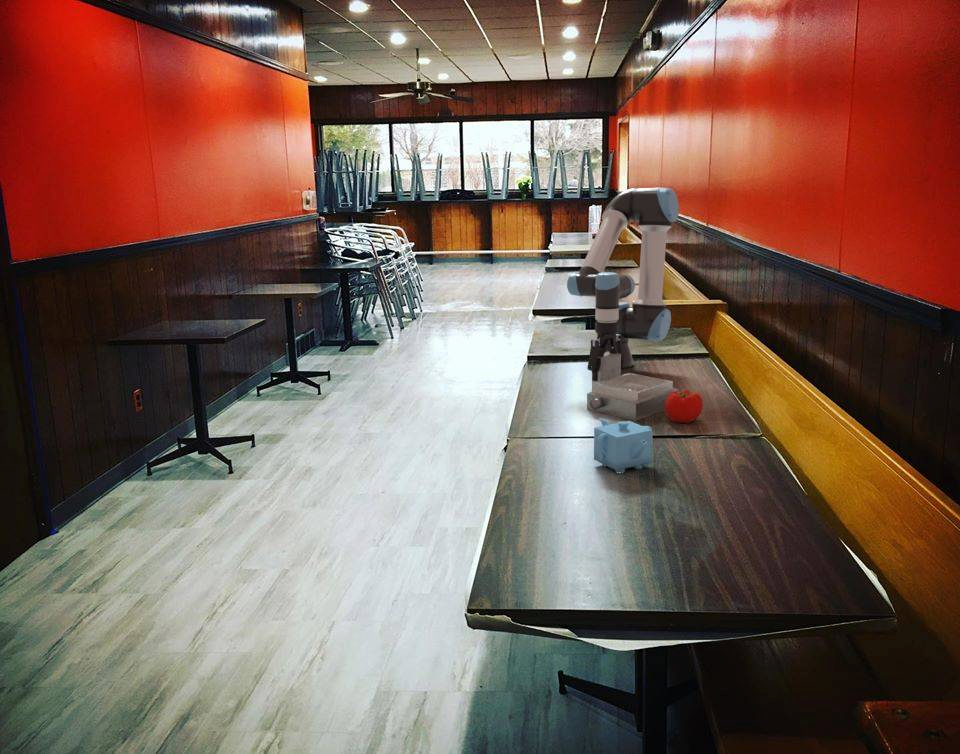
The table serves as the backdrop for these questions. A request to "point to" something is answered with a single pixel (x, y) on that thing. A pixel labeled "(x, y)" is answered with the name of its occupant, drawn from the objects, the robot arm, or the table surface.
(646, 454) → the teapot
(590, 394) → the gearbox
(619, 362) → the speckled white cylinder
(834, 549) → the table surface
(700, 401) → the tomato
